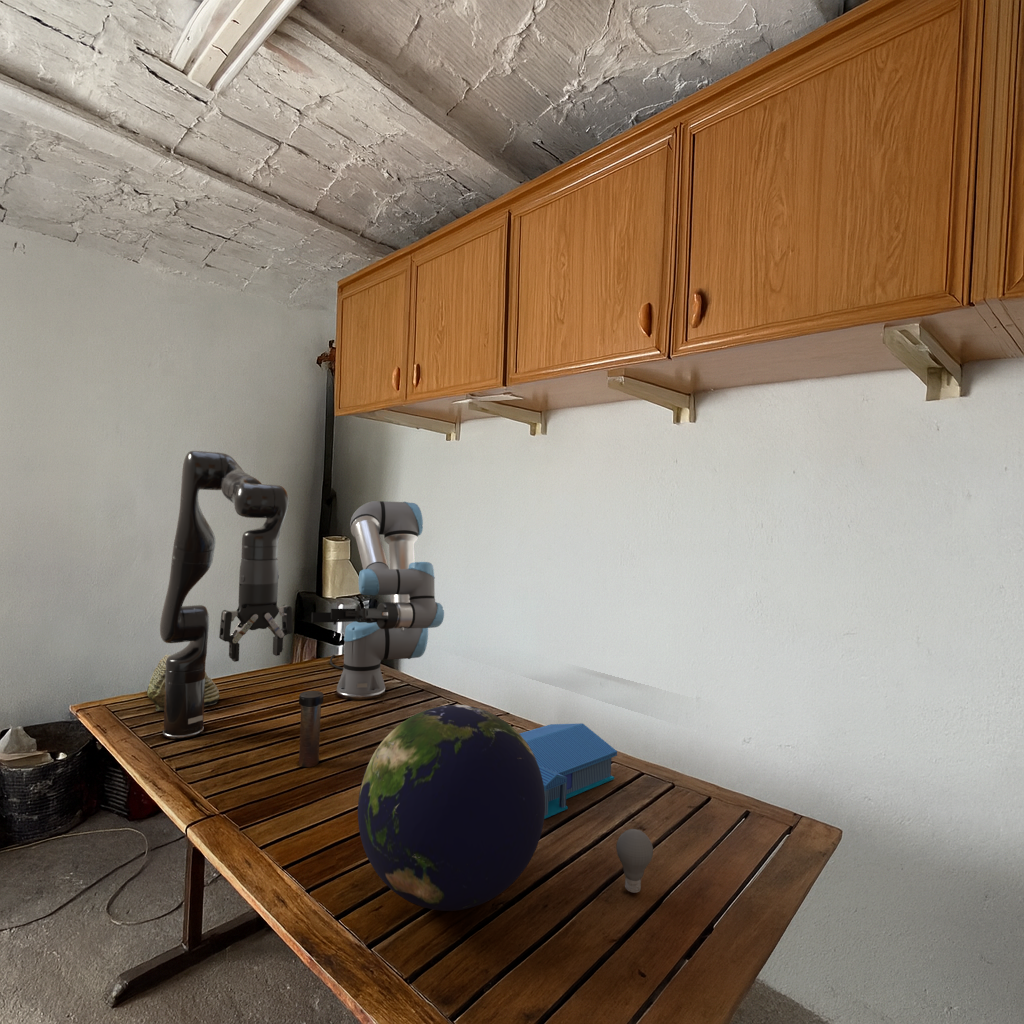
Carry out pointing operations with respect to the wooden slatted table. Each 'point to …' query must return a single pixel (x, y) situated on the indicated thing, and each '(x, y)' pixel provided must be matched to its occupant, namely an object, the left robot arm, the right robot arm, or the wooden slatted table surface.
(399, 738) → the globe
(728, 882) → the wooden slatted table surface
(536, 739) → the model building
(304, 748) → the jar
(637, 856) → the light bulb
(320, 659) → the wooden slatted table surface
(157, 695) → the fossil
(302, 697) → the lid
